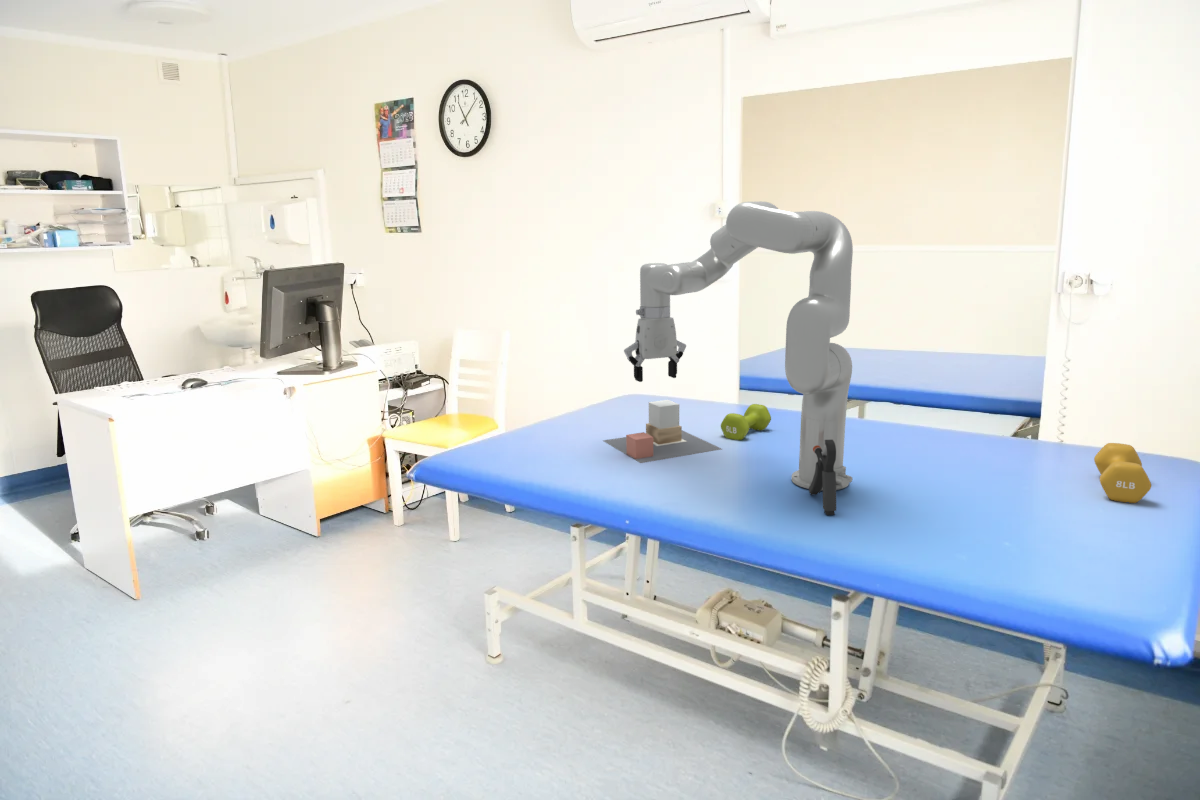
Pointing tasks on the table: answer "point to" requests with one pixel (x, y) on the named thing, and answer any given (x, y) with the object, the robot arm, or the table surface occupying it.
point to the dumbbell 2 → (1122, 473)
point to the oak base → (664, 434)
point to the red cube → (639, 445)
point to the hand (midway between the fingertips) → (655, 379)
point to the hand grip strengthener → (825, 476)
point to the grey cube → (663, 414)
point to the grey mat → (668, 448)
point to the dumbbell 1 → (745, 422)
